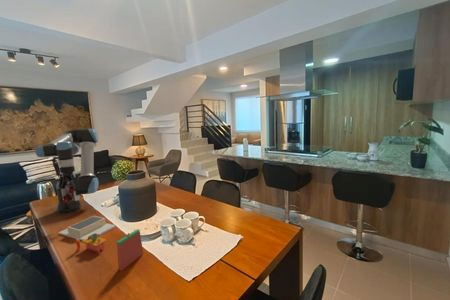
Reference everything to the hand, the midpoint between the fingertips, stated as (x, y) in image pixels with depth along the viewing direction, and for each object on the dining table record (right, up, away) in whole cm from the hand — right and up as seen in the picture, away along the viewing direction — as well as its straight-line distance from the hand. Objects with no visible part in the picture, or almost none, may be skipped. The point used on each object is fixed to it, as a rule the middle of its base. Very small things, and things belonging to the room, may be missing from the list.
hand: (71, 199), depth 135 cm
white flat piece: (+15, -18, -6) cm, 24 cm away
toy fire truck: (0, -2, 0) cm, 2 cm away
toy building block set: (+40, -20, -30) cm, 54 cm away
